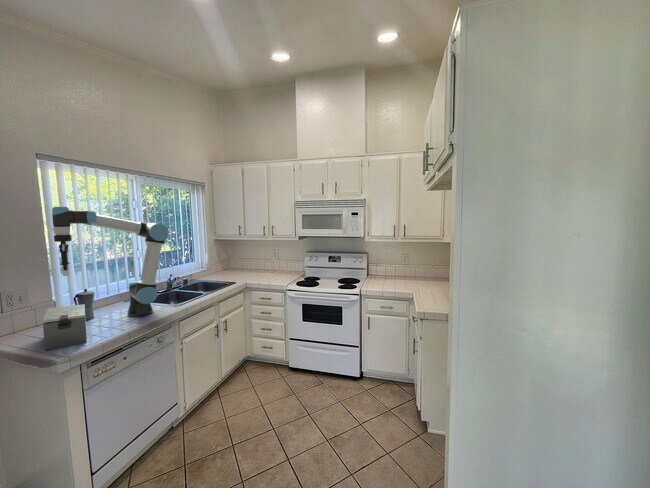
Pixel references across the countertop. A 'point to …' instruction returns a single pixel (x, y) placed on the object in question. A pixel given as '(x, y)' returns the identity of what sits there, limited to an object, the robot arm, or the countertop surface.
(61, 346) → the storage box
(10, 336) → the countertop surface
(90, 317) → the moka pot
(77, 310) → the cream box lid
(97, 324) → the countertop surface
